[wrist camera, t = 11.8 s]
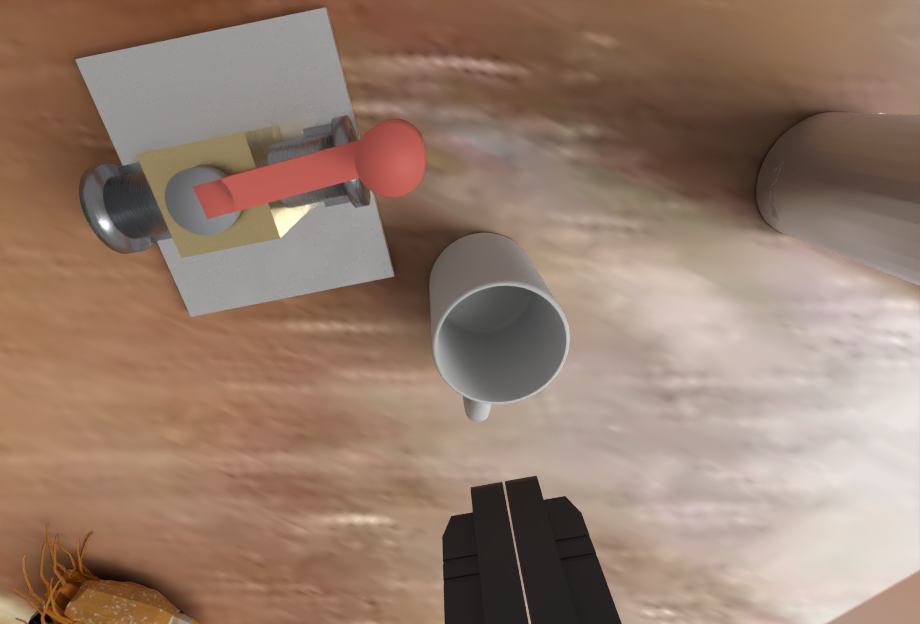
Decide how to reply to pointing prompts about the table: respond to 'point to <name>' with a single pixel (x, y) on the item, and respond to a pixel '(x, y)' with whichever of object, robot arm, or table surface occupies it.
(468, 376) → the mug
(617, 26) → the table surface
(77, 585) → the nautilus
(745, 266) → the table surface
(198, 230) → the lever
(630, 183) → the table surface
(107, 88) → the valve body
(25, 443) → the table surface
